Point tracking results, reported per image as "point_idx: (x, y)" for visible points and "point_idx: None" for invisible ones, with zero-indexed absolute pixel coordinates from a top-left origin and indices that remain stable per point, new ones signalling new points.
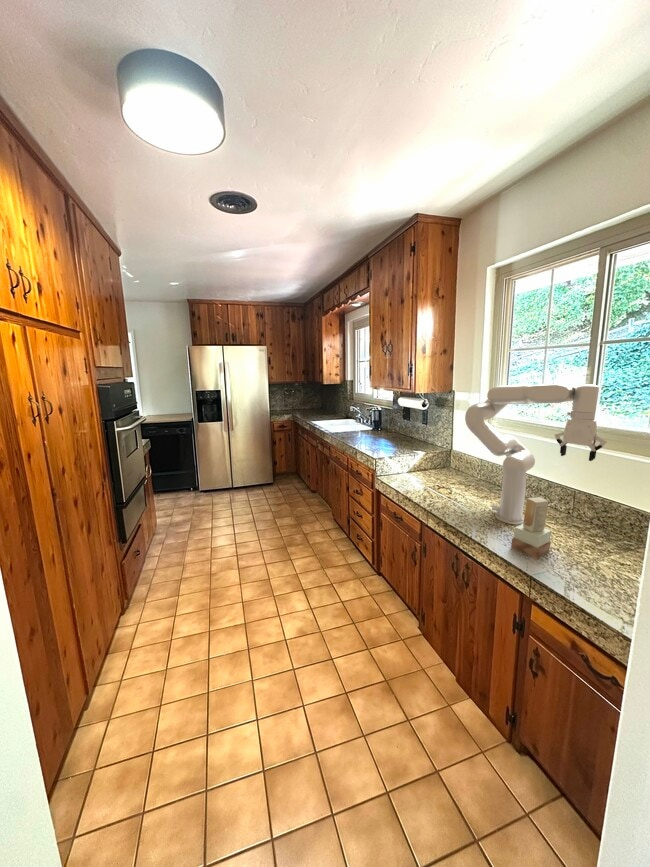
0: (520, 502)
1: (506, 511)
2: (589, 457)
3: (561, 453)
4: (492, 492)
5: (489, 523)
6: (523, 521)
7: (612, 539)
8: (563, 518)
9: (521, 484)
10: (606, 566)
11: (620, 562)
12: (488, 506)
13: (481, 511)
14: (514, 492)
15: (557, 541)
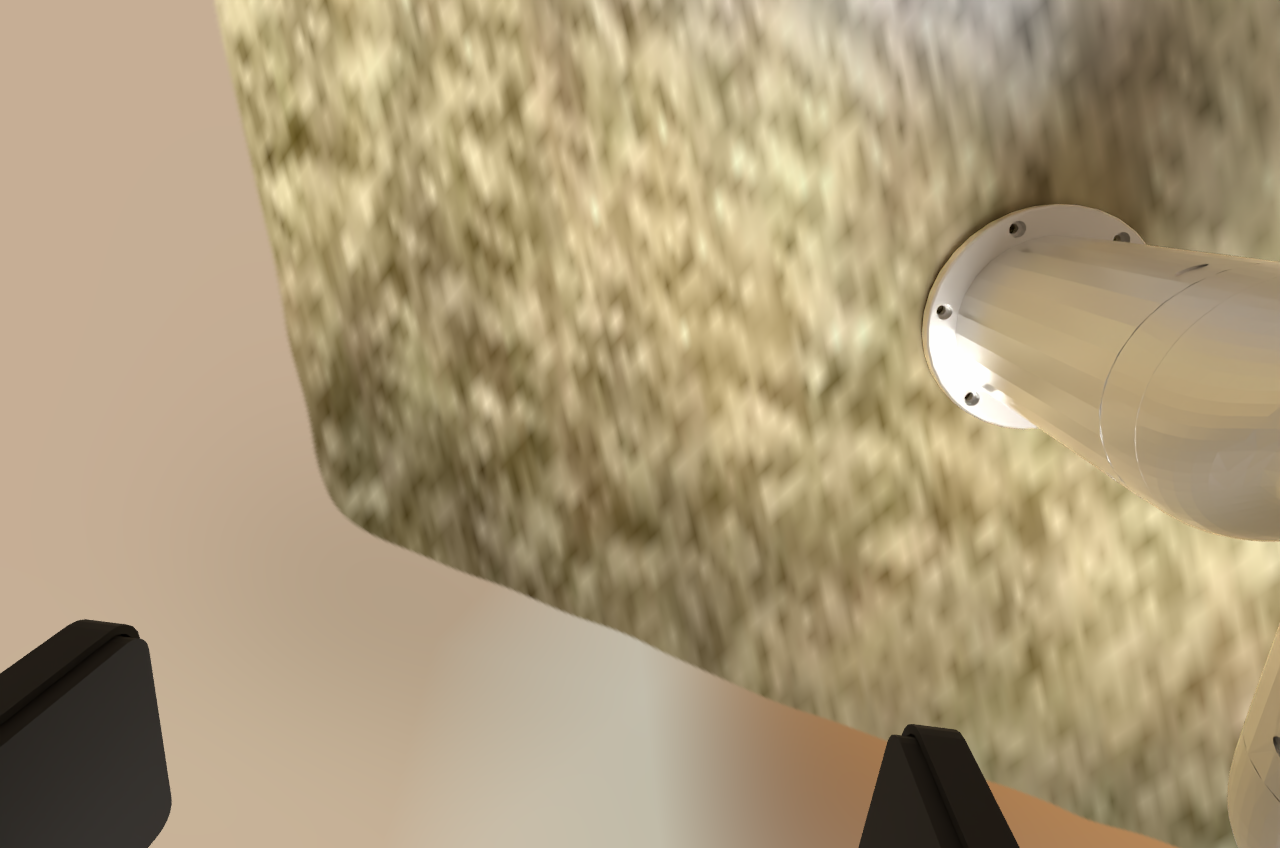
0: (1053, 310)
1: (1108, 240)
2: (36, 697)
3: (971, 784)
4: None
5: (1166, 88)
6: (936, 304)
7: (433, 481)
8: (727, 605)
9: (1204, 338)
10: (343, 16)
11: (310, 158)
12: None
13: None
14: (1196, 271)
15: (664, 172)
